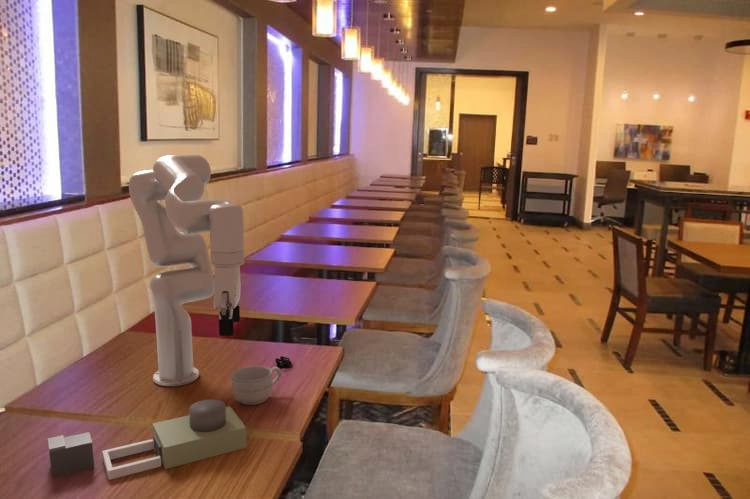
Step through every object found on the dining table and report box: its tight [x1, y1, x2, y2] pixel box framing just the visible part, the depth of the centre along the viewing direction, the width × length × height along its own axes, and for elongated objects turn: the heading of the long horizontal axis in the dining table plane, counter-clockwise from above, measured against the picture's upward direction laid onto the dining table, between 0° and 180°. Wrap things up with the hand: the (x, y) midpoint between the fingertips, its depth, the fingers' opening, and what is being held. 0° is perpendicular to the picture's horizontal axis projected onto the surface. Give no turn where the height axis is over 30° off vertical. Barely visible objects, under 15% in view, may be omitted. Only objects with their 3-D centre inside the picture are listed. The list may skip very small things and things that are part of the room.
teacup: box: [231, 365, 283, 406], centre depth 162 cm, size 14×11×8 cm
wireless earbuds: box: [274, 356, 292, 369], centre depth 185 cm, size 7×2×5 cm
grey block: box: [47, 431, 95, 479], centre depth 129 cm, size 5×8×7 cm, turn 121°
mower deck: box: [101, 398, 248, 481], centre depth 135 cm, size 12×29×9 cm, turn 121°
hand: (230, 328), depth 143 cm, fingers open, 9 cm apart
